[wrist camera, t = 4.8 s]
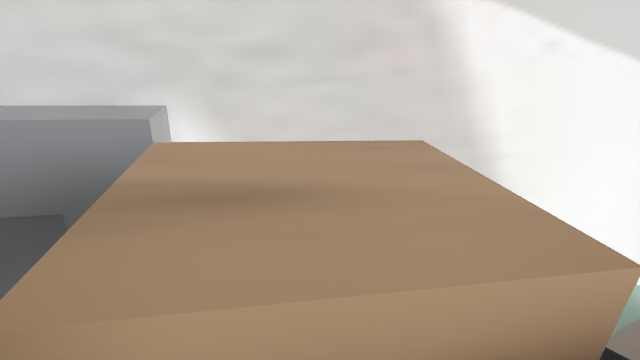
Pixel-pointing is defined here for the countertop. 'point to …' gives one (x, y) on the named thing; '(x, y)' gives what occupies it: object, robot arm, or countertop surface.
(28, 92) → the countertop surface
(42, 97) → the countertop surface
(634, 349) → the coffee cup
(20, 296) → the walnut block
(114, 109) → the grey slotted square board
